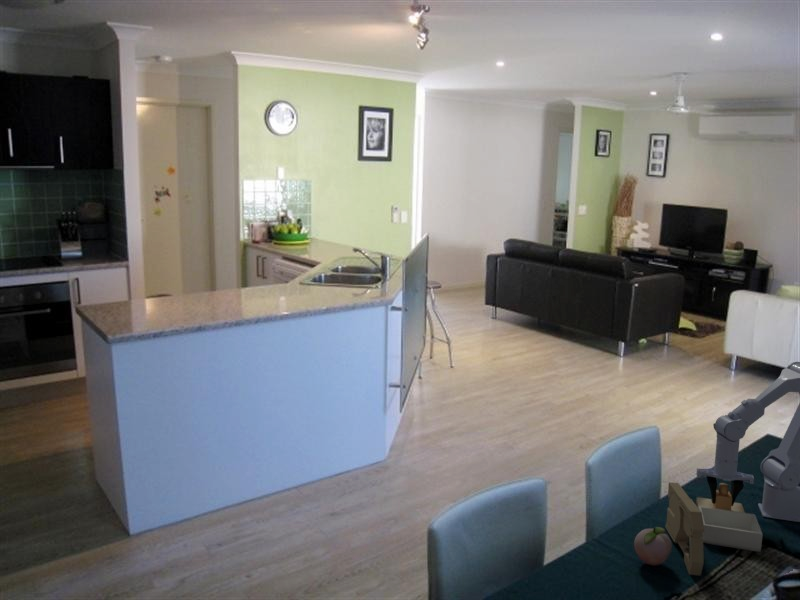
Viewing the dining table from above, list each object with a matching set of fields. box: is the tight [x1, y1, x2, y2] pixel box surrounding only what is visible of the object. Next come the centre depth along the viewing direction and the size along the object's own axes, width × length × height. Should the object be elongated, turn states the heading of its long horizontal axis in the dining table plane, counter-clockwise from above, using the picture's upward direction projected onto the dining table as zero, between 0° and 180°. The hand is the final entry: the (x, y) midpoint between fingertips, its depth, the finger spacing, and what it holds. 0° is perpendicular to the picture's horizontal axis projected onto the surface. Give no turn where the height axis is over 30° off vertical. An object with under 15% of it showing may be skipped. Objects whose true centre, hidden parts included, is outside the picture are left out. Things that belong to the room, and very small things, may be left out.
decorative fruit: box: [633, 526, 673, 567], centre depth 162 cm, size 9×8×10 cm
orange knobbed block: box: [713, 482, 732, 511], centre depth 187 cm, size 4×4×8 cm
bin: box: [698, 506, 764, 553], centre depth 175 cm, size 14×11×5 cm
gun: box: [664, 481, 705, 576], centre depth 168 cm, size 24×3×15 cm, turn 171°
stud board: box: [695, 496, 746, 513], centre depth 188 cm, size 12×12×5 cm
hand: (722, 503), depth 187 cm, fingers closed on orange knobbed block, 4 cm apart
